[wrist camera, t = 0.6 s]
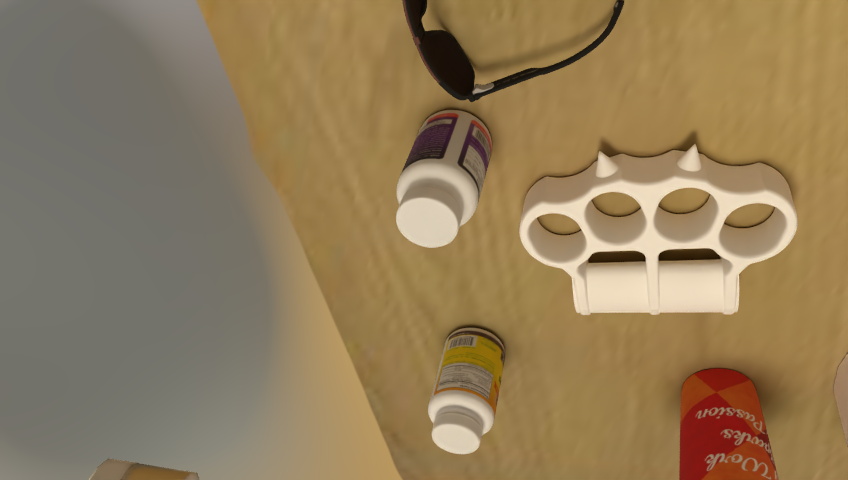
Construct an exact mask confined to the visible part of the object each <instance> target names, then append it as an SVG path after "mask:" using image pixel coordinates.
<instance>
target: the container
mask: <svg viewBox="0 0 848 480" xmlns="http://www.w3.org/2000/svg"><path fill="white" fill-rule="evenodd" d="M833 390H834V394H835V399H836V404H837V408H838V412H839V416H840V420H841V423H842V427H843V431H844V435H845V439H846V443H847V446H848V354H847V355H846V356H845V358H844V359H843V361H842V362H841V364H840V365H839V366H838V370H837V374H836V378H835V382H834V387H833Z"/></svg>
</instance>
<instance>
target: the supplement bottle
mask: <svg viewBox="0 0 848 480" xmlns="http://www.w3.org/2000/svg"><path fill="white" fill-rule="evenodd" d="M504 360H505V350H504V347H503V344H502V343H501V341H500V340H499V339H498V338H497V337H496V336H495V335H493V334H492V333H490V332H488V331H485V330H483V329H479V328H462V329H459V330H457V331H455V332H453V333H452V334H451V335H450V336H449V337H448V338H447V340H446V342H445V346H444V349H443V353H442V357H441V360H440V364H439V368H438V372H437V376H436V379H435V383H434V387H433V391H432V394H431V398H430V402H429V406H428V413H429V416H430V419H431V420H432V422H433V429H432V439H433V441H434V442H435V443H436V444H437V445H438V446H439V447H440V448H442V449H444V450H446V451H448V452H451V453H456V454H468V453H472V452H474V451H475V450H477V449H478V447H479V445H480V441H481V437H482V435H483V434H485V433H487V432H488V431H489V430H490V429H491V427H492V425H493V422H494V418H495V412H496V406H497V400H498V395H499V389H500V384H501V377H502V371H503V366H504Z"/></svg>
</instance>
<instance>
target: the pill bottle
mask: <svg viewBox="0 0 848 480" xmlns="http://www.w3.org/2000/svg"><path fill="white" fill-rule="evenodd" d="M491 151H492V141H491V136H490V134H489V131H488V129H487V128H486V126H485V125H484V124H483V123H482V122H481V121H480V120H479V119H478V118H476V117H475V116H473V115H471V114H469V113H467V112H464V111H459V110H445V111H440V112H438V113H435V114H433V115H432V116H430V117H429V118H428V119H427V120H426V121H425V122H424V123H423V125H422V127H421V129H420V131H419V133H418V135H417V138H416V140H415V142H414V145H413V147H412V150H411V152H410V154H409V156H408V159H407V161H406V163H405V166H404V168H403V170H402V173H401V175H400V178H399V181H398V184H397V199H398V202H399V208H398V210H397V214H396V223H397V226H398V228H399V230H400V232H401V233H402V234H403V235H404V236H405V237H406V238H407V239H408V240H410V241H411V242H413V243H415V244H417V245H420V246H423V247H430V248H434V247H441V246H444V245H446V244H448V243H450V242H451V241H452V240H453V239H454V238H455V237H456V235H457V233H458V230H459V227H460V226H461V225H463V224H465V223H466V222H467V221H468V220H469V219H470V218H471V217H472V215H473V214H474V212H475V210H476V207H477V204H478V201H479V197H480V194H481V190H482V186H483V182H484V179H485V175H486V171H487V167H488V164H489V160H490V156H491Z"/></svg>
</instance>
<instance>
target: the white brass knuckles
mask: <svg viewBox="0 0 848 480" xmlns="http://www.w3.org/2000/svg"><path fill="white" fill-rule="evenodd" d="M680 188H698V189H701V190H704V191H706V192H708V193H709V194H710V197H709V199H708V201H707V202H706V204H705V205H704V206H703V207H701V208H700V209H698V210H696V211H694V212H691V213H687V214H673V213H669V212H666V211H664V210H663V209H661V208H660V207H659V206H658V205H659V202H660V201H661V199H662V198H663V197H664V196H665V195H667V194H668V193H670V192H672V191H674V190H677V189H680ZM607 192H620V193H624V194H627V195H629V196H631V197H633V198H634V199H635V200H636V201H637V202H638V203H639V204H640V206H641V208H640V209H639V210H638V211H637V212H635V213H634V214H631V215H629V216H625V217H612V216H608V215H605V214H603V213H601V212H600V211H599V210H597V209H596V208H595V206H594V205H593V203H592V201H591V200H592V199H593V198H594V197H596V196H598V195H600V194H603V193H607ZM753 203H764V204H769V205H772V206H774V207H775V209H774V211H773V213H772V215H771V216H770V217H769V218H768V219H767V220H766V221H765V222H763V223H762V224H760V225H757V226H754V227H751V228H734V227H730V226H728V225H726V224H724V221H725V219H726V218H727V216H728V215H729V214H730V213H731V212H732V211H734V210H735V209H737V208H739V207H741V206H744V205H747V204H753ZM549 213H557V214H563V215H566V216H568V217H570V218H572V219H573V220H575V221H576V222H577V223H578V225H579V226H580V228H581V231H579V232H577V233H575V234H572V235H556V234H553V233H551V232H549V231H547V230H545V229H544V228H543V227H542V226H541V225H540V223H539V221H538V220H537V217H539V216H541V215H544V214H549ZM796 229H797V214H796V210H795V207H794V203H793V199H792V196H791V192H790V189H789V186H788V183H787V182H786V180H785V178H784V177H783V176H782V175H781V174H780V173H779V172H778V171H777V170H775V169H774V168H772V167H770V166H768V165H766V164H763V163H755V164H751V165H746V166H728V165H723V164H719V163H717V162H714V161H712V160H710V159H709V158H707V157H706V156H705V155H704V154H699V153H698V151H697V147H696V144H694V145H693V146H692V147H691V148H690V149H689V150H688V151H686V152H685V151H678V150H672V151H670V152H668V153H665V154H663V155H660V156H656V157H650V158H638V157H632V156H628V155H625V154H619V155H616V156H612V157H608V156H606V155H605V154H603V153H602V152H601V151H599V155H598V161H596V162H594V163H593V164H592V165H591V166H590V167H589V168H588V169H586V170H585V171H583V172H581V173H579V174H577V175H574V176H570V177H564V178H554V177H548V176H547V177H544V178H542V179H541V180H539V181H538V182H536V183H535V184H534V185H533V186H532V187H531V189H530V190H529V191H528V193H527V195H526V198H525V201H524V206H523V211H522V216H521V221H520V227H519V233H520V238H521V241H522V244H523V246H524V247H525V249H526V250H527V251H528V253H529V254H530V255H531V256H533V257H534V258H535V259H537V260H538V261H540V262H542V263H544V264H546V265H549V266H552V267H557V268H561V269H563V270H565V271H566V272H567V273H568V274H569V275H570V276H571V277H572V286H573V297H574V304H575V309H576V312H577V313H581V314H582V315H590V314H591V313H635V312H649V313H650V314H651V315H658V314H660V312H722V313H723V314H733V313H734V312H737V311H738V304H739V273H740V272H741V271H742V270H744V269H745V268H746V267H747V266H748V265H749V264H751V263H756V262H760V261H763V260H766V259H768V258H770V257H772V256H774V255H776V254H778V253H779V252H780V251H782V250H783V249H784V248H785V247H786V246H787V245H788V244H789V243H790V241H791V240H792V238H793V237H794V235H795V232H796ZM695 248H710V249H713V250H714V251H715V252H716V253H717V254H718V255H720V259H715V260H679V261H658V256H659V254H660V253H661V252H662V251H665V250H668V249H695ZM632 250H634V251H639V252H641V253H643V254H644V255H645V257H646V261H644V262H609V263H588V258H589V257H590V256H591V255H592V254H593V253H595V252H601V251H632Z"/></svg>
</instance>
